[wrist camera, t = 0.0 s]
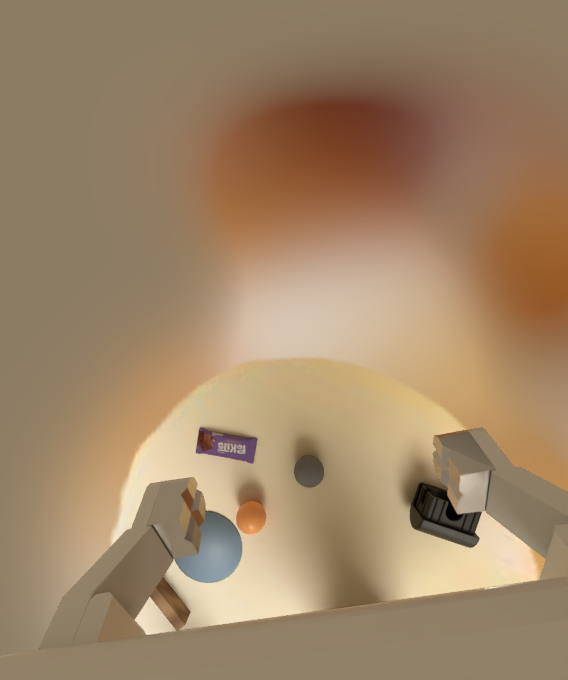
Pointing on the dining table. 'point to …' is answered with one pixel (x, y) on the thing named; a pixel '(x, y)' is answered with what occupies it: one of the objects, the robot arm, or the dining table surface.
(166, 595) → the wall
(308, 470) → the dark gray ball
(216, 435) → the snack package
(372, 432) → the dining table surface
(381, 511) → the dining table surface
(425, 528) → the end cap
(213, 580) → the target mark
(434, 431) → the dining table surface
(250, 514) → the object ball
